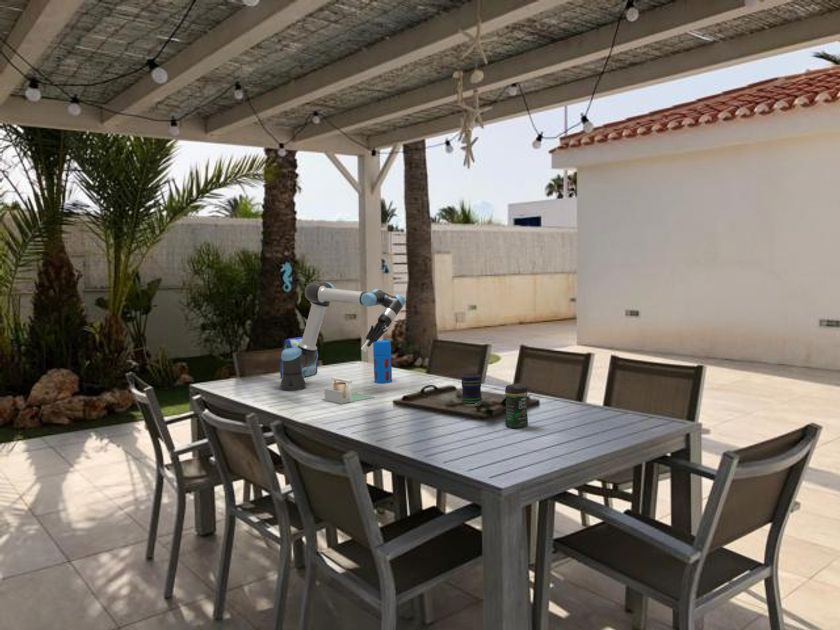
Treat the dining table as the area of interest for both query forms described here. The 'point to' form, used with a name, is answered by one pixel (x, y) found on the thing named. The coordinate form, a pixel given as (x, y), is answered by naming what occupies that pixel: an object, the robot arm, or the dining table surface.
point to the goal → (338, 392)
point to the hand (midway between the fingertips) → (363, 350)
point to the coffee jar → (516, 405)
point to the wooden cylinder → (340, 388)
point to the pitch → (355, 397)
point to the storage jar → (471, 388)
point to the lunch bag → (294, 344)
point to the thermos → (382, 362)
